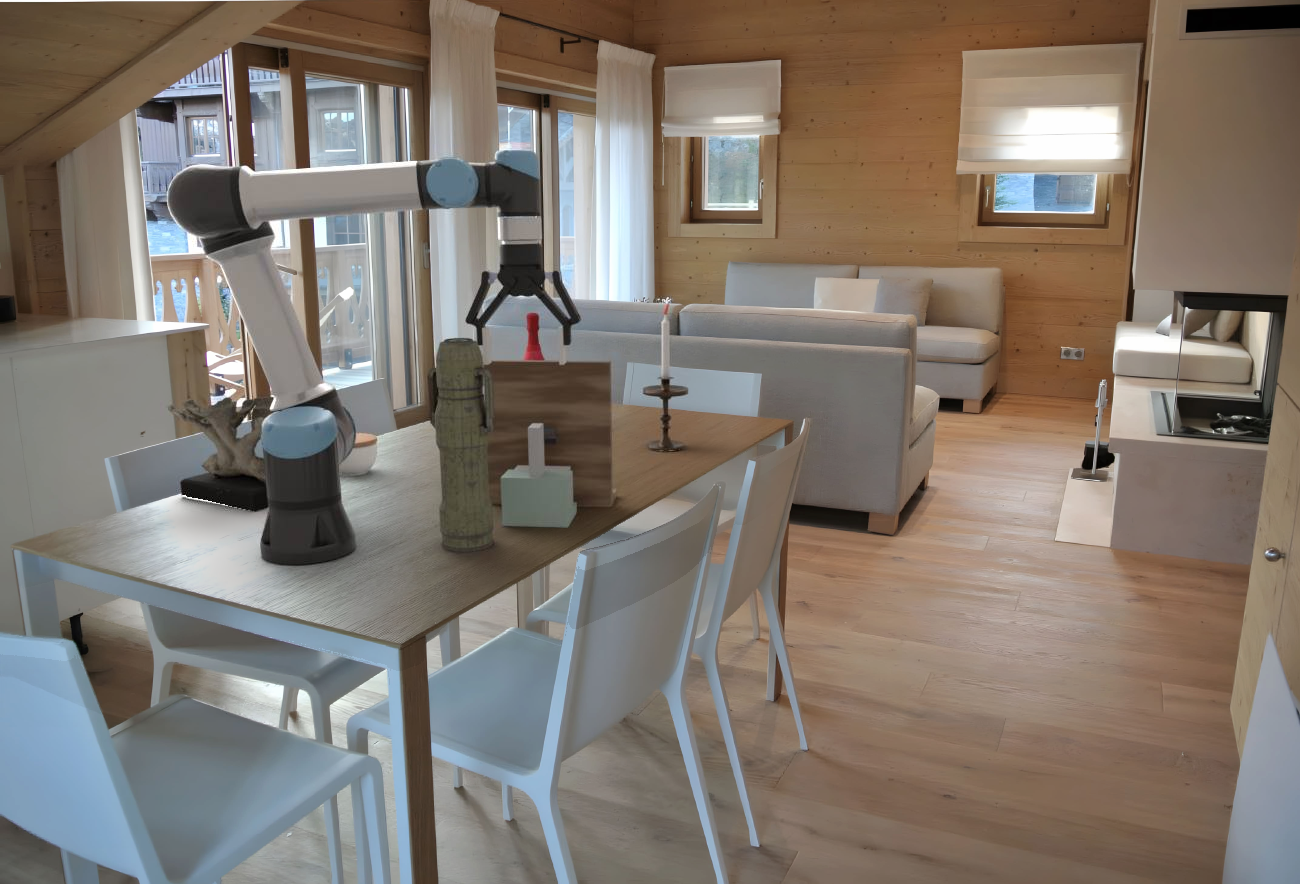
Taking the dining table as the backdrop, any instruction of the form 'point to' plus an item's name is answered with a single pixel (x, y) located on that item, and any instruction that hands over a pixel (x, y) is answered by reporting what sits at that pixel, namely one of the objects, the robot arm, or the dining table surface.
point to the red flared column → (533, 338)
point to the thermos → (463, 443)
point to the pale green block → (537, 489)
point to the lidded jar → (360, 456)
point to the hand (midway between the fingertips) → (525, 364)
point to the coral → (229, 453)
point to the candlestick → (665, 394)
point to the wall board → (554, 423)
